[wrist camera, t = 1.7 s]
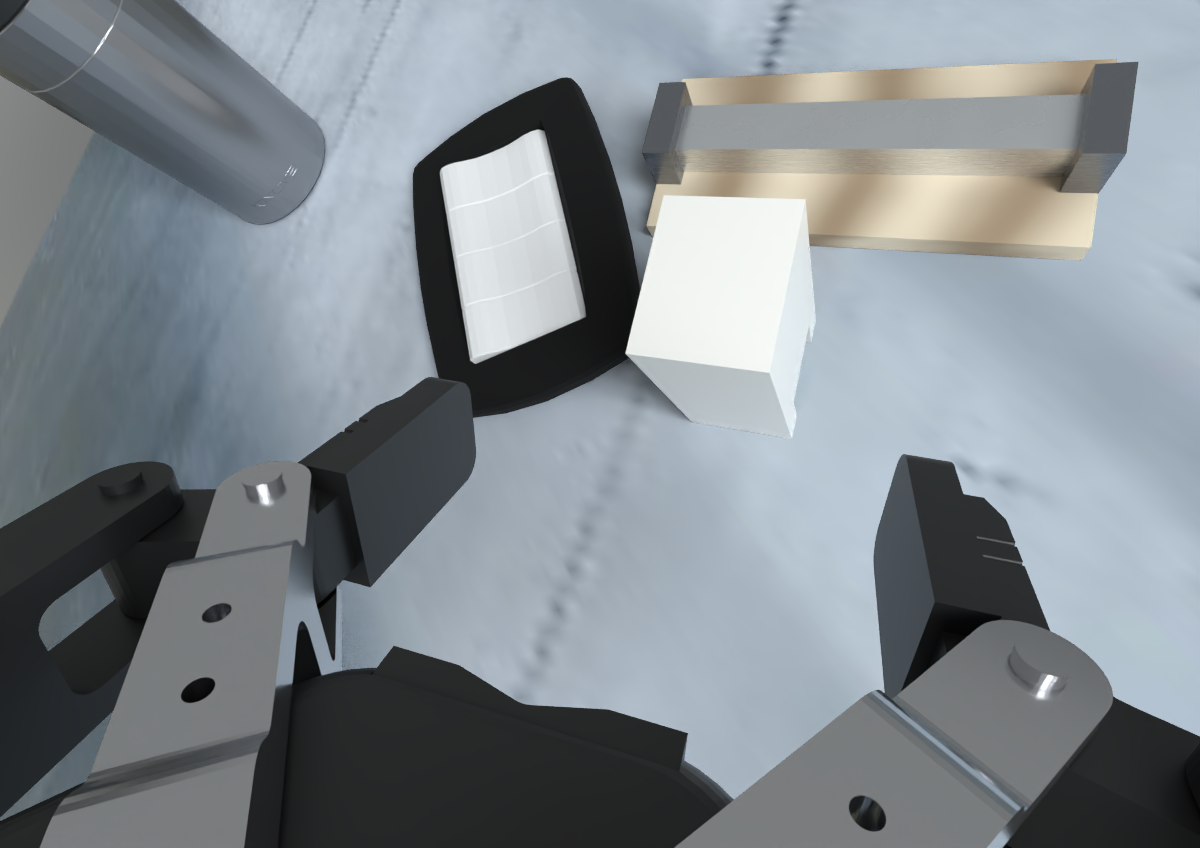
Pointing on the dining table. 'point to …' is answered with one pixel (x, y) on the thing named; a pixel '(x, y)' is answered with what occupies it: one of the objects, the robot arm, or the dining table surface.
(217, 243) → the dining table surface
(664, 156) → the rail
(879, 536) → the robot arm
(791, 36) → the dining table surface
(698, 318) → the block
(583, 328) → the light switch
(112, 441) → the dining table surface
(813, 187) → the mounting board
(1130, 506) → the dining table surface
